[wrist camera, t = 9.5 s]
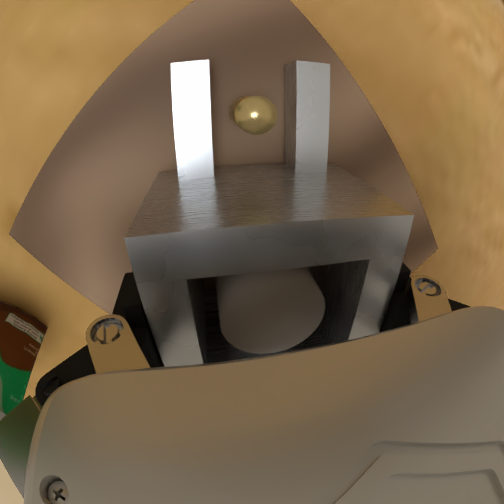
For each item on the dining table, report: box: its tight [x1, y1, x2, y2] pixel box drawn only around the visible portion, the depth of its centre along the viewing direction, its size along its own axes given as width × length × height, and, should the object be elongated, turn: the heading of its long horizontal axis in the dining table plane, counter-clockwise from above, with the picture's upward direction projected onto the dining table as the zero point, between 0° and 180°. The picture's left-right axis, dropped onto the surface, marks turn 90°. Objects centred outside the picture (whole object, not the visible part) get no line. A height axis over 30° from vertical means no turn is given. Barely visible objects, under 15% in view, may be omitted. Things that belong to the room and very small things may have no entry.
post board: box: [9, 0, 438, 354], centre depth 11 cm, size 18×16×6 cm
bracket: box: [124, 60, 414, 367], centre depth 9 cm, size 11×7×6 cm, turn 1°
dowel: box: [229, 96, 277, 135], centre depth 9 cm, size 1×1×2 cm
